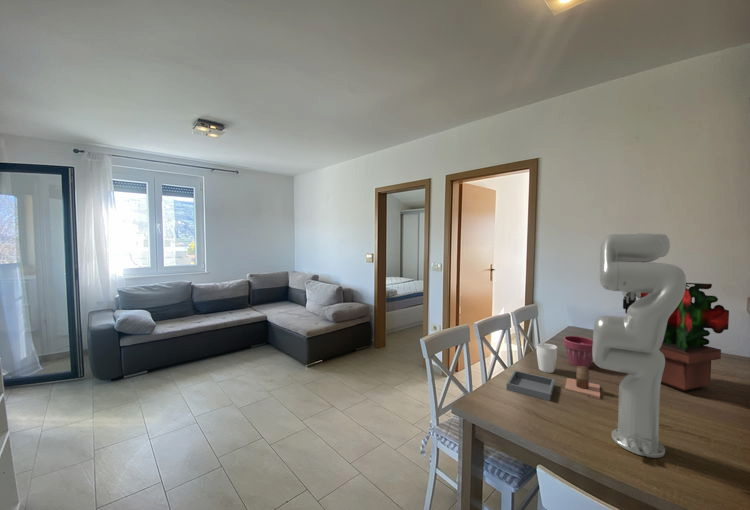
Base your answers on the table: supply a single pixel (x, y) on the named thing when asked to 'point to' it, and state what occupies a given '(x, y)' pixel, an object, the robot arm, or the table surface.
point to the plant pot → (579, 350)
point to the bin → (531, 385)
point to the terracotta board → (591, 391)
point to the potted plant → (691, 339)
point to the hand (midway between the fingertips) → (629, 311)
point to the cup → (546, 357)
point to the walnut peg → (582, 377)
